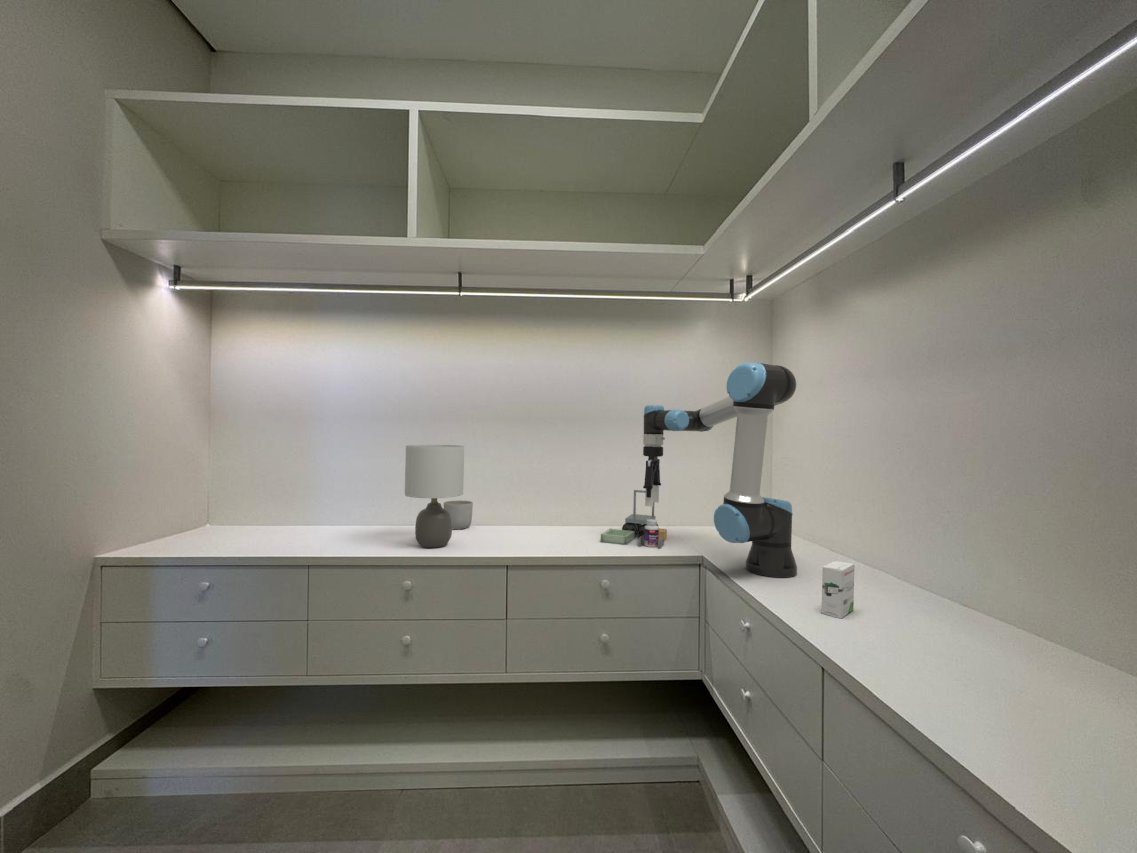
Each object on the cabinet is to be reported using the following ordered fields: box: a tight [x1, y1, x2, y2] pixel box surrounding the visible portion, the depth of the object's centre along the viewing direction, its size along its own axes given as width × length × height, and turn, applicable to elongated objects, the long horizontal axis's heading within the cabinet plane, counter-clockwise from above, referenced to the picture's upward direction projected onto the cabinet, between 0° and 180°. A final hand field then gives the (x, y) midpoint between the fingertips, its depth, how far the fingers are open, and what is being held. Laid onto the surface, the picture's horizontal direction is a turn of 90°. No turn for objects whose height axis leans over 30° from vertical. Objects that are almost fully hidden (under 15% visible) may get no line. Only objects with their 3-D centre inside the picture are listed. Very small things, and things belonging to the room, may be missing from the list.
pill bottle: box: [643, 519, 660, 548], centre depth 190 cm, size 5×5×10 cm
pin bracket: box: [637, 535, 665, 550], centre depth 190 cm, size 7×8×3 cm
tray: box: [600, 528, 636, 546], centre depth 198 cm, size 12×10×3 cm
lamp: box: [404, 444, 465, 549], centre depth 183 cm, size 21×21×37 cm
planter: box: [443, 499, 474, 530], centre depth 216 cm, size 12×12×11 cm
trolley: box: [621, 489, 659, 537], centre depth 208 cm, size 12×13×18 cm
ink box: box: [821, 560, 855, 619], centre depth 123 cm, size 9×5×12 cm, turn 133°
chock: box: [658, 527, 668, 542], centre depth 201 cm, size 6×4×4 cm, turn 157°
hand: (652, 504), depth 190 cm, fingers open, 10 cm apart
